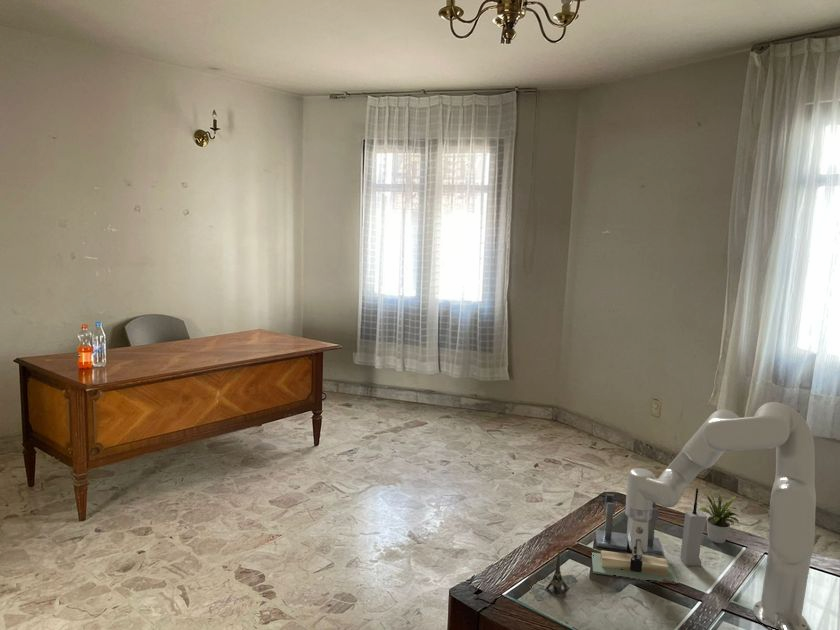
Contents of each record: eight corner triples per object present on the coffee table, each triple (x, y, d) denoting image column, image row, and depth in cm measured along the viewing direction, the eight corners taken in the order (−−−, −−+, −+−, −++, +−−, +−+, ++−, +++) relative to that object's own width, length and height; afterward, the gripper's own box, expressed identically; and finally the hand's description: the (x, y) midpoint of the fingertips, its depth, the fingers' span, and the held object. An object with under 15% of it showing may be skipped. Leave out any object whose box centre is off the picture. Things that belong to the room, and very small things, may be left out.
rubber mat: (678, 585, 175) (678, 583, 175) (593, 572, 180) (593, 571, 180) (671, 565, 185) (672, 563, 185) (591, 554, 190) (591, 552, 190)
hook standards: (662, 555, 190) (666, 511, 187) (597, 546, 194) (600, 503, 191) (658, 541, 198) (662, 499, 195) (595, 533, 202) (598, 492, 199)
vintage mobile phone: (701, 566, 185) (710, 491, 180) (685, 565, 185) (693, 491, 180) (695, 559, 188) (704, 485, 183) (680, 558, 188) (688, 485, 183)
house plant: (692, 546, 195) (697, 500, 192) (686, 524, 208) (691, 481, 205) (740, 554, 191) (746, 507, 188) (732, 532, 204) (737, 487, 201)
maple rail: (667, 575, 179) (668, 566, 178) (601, 566, 183) (602, 557, 182) (665, 567, 182) (666, 559, 182) (600, 558, 186) (601, 550, 186)
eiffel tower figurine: (573, 576, 179) (576, 535, 177) (588, 598, 170) (591, 555, 167) (525, 580, 177) (528, 539, 175) (537, 602, 167) (540, 559, 165)
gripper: (656, 526, 170) (650, 581, 173) (647, 497, 186) (642, 547, 190) (628, 523, 171) (623, 577, 175) (622, 494, 188) (618, 544, 191)
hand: (633, 561), depth 182 cm, fingers open, 9 cm apart
